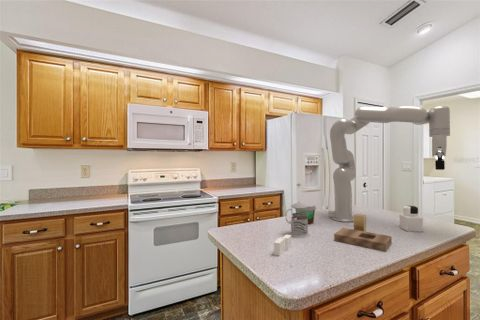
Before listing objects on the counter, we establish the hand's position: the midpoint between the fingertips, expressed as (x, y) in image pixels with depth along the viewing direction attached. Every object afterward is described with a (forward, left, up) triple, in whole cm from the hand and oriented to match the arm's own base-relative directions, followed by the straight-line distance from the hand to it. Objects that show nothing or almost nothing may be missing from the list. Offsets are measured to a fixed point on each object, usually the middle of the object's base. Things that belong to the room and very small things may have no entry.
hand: (439, 169), depth 111 cm
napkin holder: (-47, -64, -32) cm, 85 cm away
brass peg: (-30, -22, -31) cm, 48 cm away
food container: (-59, -22, -31) cm, 70 cm away
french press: (-53, -42, -31) cm, 74 cm away
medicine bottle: (-12, 0, -31) cm, 33 cm away
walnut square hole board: (-26, -34, -31) cm, 52 cm away
